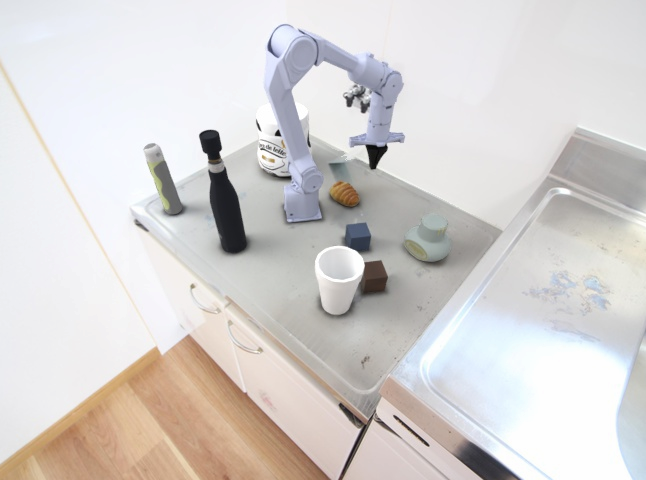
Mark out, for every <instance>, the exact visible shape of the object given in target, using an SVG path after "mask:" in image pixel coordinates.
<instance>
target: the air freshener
mask: <svg viewBox="0 0 646 480" xmlns="http://www.w3.org/2000/svg"><path fill="white" fill-rule="evenodd" d="M448 226H449V222H448V220H447V219H446V217H445V216H443V215H442V214H439V213H434V212H431V213H426V214H424V215H423V216H422V218H421V219H420V223H419V224H417V225H415V226H413V227H411V228H410V229H409V230H407V231H406V233H405V235H404V241H403V242H404V247H405V248H406V250H407V251H408V253H410V254H411V255H412V256H413V257H414V258H416V259H417V260H420V261H423V262H428V263H429V262H430V263H431V262H432V263H433V262H438V261H441V260H443V259H445V258H446V257H448V255H449V254H450V252H451V250H452V240H451V238H450V236H449V235H448V233H447V230H448Z"/></svg>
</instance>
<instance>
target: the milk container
mask: <svg viewBox="0 0 646 480" xmlns="http://www.w3.org/2000/svg"><path fill="white" fill-rule="evenodd" d="M294 102H295V105H296V108H297V112H298V115H299V119H300V122H301V125H302V129H303V132H304V135H305V139H306V142H307V146H308V149H309V152H310V155H311V157H312V158H313V148H312V144H311V142H310V115H309V110H308V108H307V107H306V106H305V105H303V104H301V103H299V102H296V101H294ZM255 125H256V131H257V137H258V138H257V139H258V144H257V154H256V155H257V160H258V163H259V166H260V168H261V170H262V171H264V172H265V173H266V174H268V175H271V176H274V177H278V178H279V177H280V178H288V177H289V178H290V177H292V176H291V175H290V174H289V173H288V171H287V164H288V160H287V157H286V156H287V155H288V153H287V150H286V147H285V145H284V142H283V139H282V136H281V133H280V131H279V128H278V125H277V122H276V119H275V117H274V114H273V111H272V108H271V105H270V103H266V104H263V105H261V106H260V107H259V108H258V109H257V110H256V113H255Z"/></svg>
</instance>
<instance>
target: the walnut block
mask: <svg viewBox="0 0 646 480" xmlns="http://www.w3.org/2000/svg"><path fill="white" fill-rule="evenodd" d="M364 265H365V267H364V272H363V276H362V279H361V281H360V282H359V285H360V288H361V289H360V290H361V292H362V294H363V295H365V294H370V293H371V294H372V293H379V292H385V291H386V287H387V283H388V279H389V276H388V273H387V271H386V268H385V265H384V263H383V261H382V259H380V260H372V261H371V260H370V261H364Z"/></svg>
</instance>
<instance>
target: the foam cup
mask: <svg viewBox="0 0 646 480" xmlns="http://www.w3.org/2000/svg"><path fill="white" fill-rule="evenodd" d="M364 262H365V261H364V258H363V257H362V255H361V254H360V253H359V251H358V252H357V251H355V250H353V249H350V248H348V246H342V245H334V246H329V247H325V248H324V249H323V250H322V251H319V252H318V254H317V256H316V258H315V261H314V271H315V279H316V280H317V285H318V289H319V290H318V291H319V296H320V301H321V306H322V308H323V309H324V311H325V312H327V313H328V314H331V315H333V316H334V315H335V316H339V315H342V314H345V313H347V312H348V311H349V309H350V308H351V305H352V302H353V300H354V298H355V294H356V292H357V289H358V286H359V285H360V283H359V282H360V281H361V279H362V276H363V272H364V267H365V265H364Z"/></svg>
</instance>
